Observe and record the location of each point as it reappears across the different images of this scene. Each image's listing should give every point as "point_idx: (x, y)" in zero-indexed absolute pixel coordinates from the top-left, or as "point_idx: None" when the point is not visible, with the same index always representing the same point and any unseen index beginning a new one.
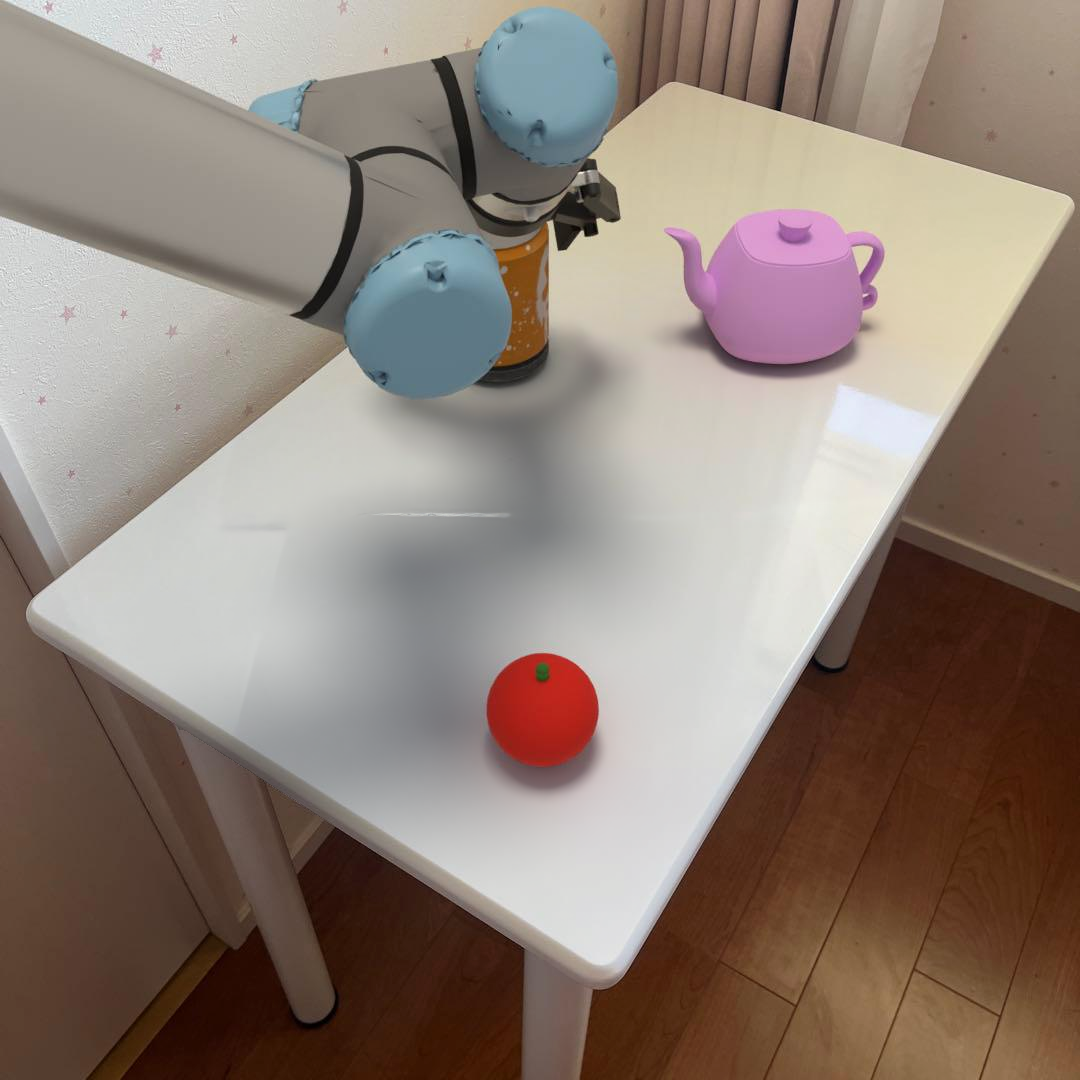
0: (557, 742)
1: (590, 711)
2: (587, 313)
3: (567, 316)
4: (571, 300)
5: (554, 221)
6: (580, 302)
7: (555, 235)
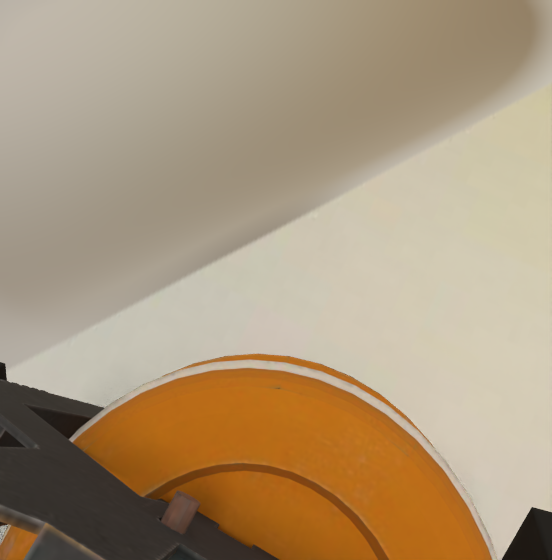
0: None
1: None
2: (503, 466)
3: (459, 454)
4: (487, 407)
5: (533, 542)
6: (503, 422)
7: (509, 550)
